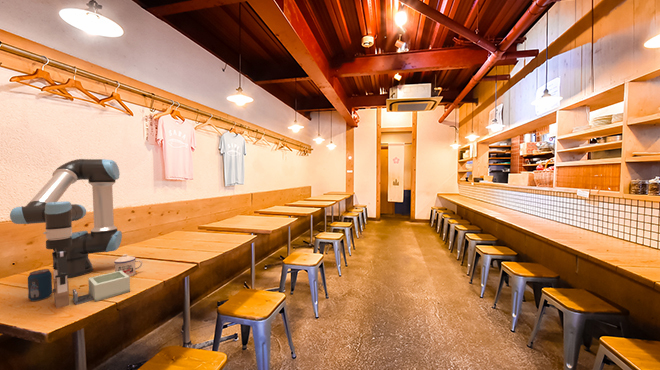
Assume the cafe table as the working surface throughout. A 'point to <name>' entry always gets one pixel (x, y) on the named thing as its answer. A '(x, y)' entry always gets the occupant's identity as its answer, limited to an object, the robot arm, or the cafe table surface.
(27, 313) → the cafe table surface
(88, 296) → the hinge rail
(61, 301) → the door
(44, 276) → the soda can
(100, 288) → the pale green open box
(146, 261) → the cafe table surface
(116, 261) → the teacup with lid
